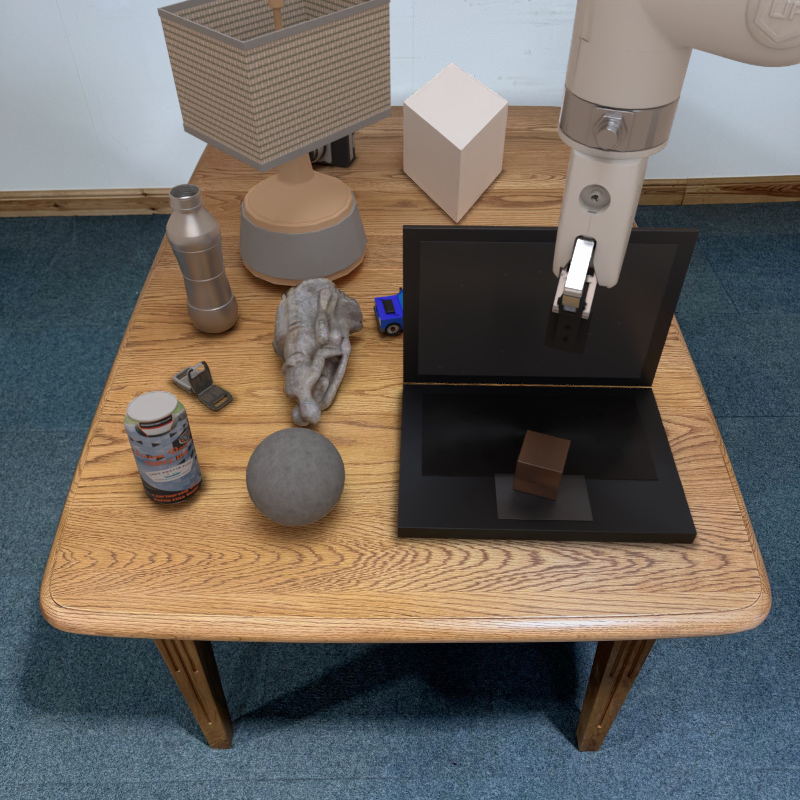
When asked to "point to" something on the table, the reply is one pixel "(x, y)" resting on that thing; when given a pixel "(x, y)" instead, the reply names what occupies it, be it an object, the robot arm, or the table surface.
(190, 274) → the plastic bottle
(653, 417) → the laptop
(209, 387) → the strap clip
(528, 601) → the table surface
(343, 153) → the camera
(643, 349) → the laptop screen
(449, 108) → the block
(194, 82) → the desk lamp
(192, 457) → the beverage can
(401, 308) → the toy car
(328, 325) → the sculpture
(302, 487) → the decorative ball
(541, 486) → the block
